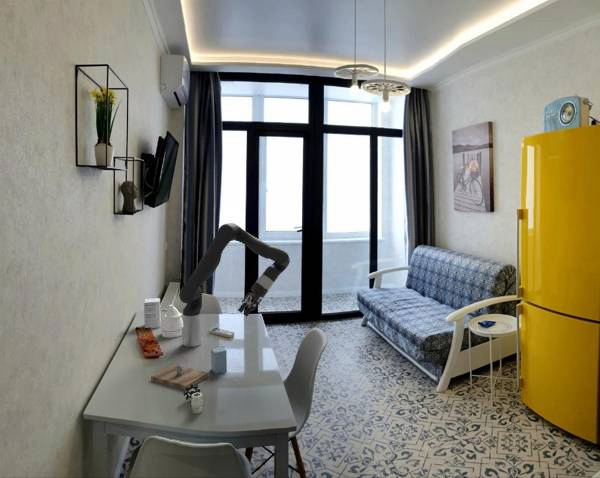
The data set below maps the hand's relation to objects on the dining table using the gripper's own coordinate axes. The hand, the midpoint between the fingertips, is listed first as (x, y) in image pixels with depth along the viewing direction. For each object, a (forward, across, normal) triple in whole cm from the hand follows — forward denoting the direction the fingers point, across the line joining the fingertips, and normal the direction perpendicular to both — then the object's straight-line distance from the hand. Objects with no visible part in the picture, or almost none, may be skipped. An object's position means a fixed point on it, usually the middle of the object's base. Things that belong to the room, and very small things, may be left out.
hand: (242, 313), depth 186 cm
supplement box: (+38, -82, -11) cm, 91 cm away
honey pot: (+33, -62, -3) cm, 70 cm away
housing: (+27, 0, +8) cm, 28 cm away
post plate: (+39, +1, -6) cm, 39 cm away
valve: (+39, +28, -4) cm, 48 cm away
